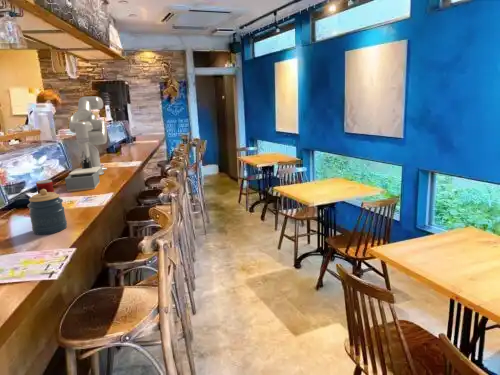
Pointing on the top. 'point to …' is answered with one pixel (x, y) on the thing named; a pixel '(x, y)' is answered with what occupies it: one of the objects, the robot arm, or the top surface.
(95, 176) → the grey box
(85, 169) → the sliding lid
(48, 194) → the canister
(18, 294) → the top surface
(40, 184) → the canned food
